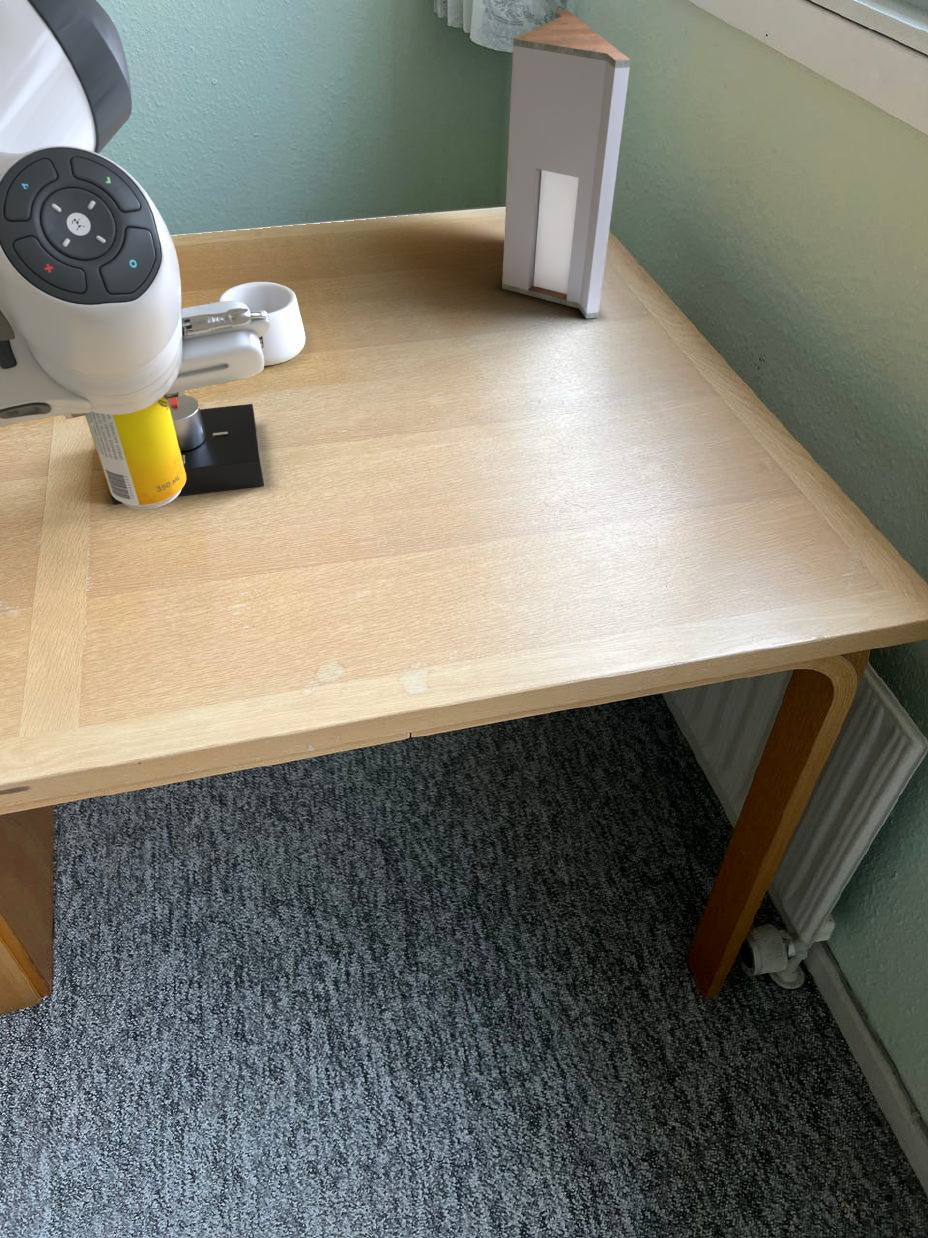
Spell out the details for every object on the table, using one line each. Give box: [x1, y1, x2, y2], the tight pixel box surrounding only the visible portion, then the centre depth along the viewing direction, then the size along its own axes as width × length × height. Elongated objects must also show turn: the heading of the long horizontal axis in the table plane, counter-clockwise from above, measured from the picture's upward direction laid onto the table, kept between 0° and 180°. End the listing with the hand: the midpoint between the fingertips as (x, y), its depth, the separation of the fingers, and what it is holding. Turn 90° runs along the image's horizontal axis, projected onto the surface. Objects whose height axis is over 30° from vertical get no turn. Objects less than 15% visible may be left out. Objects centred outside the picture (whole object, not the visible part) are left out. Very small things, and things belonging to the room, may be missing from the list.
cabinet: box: [501, 9, 631, 319], centre depth 110 cm, size 21×10×28 cm, turn 13°
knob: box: [167, 394, 206, 451], centre depth 87 cm, size 4×4×4 cm
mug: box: [208, 281, 306, 367], centre depth 105 cm, size 12×10×6 cm
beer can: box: [84, 395, 186, 510], centre depth 70 cm, size 6×6×15 cm
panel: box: [104, 403, 265, 505], centre depth 90 cm, size 14×10×3 cm
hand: (123, 397), depth 70 cm, fingers closed on beer can, 6 cm apart
